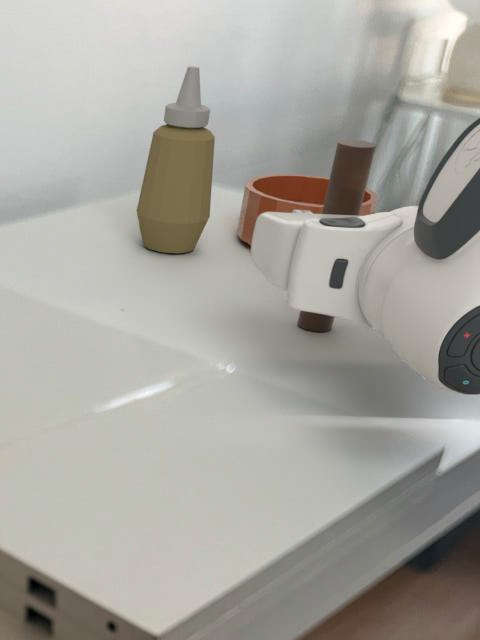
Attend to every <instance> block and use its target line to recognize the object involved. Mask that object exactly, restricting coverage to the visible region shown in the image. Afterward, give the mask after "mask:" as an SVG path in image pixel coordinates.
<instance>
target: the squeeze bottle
mask: <svg viewBox="0 0 480 640" xmlns="http://www.w3.org/2000/svg"><path fill="white" fill-rule="evenodd" d="M200 77H201V74H200V67H199V66H187V68H186V71H185V74H184V77H183V81H182V83H181V86H180V89H179V92H178V95H177V97H176V100H175V101H176V102H172V103H167V104H166V105H165V108H164V117H163V122H164V123H165V124H163V125H160V126H158V128H157V129H155V130H154V131H153V133H152V137H151V143H150V146H149V151H148V156H147V160H146V165H145V170H144V175H143V179H142V183H141V188H140V193H139V198H138V202H137V207H136V215H137V219H138V225H139V231H140V237H141V243H142V245H143V247H145V248H147V249H149V250H152V251H156V252H158V253H164V254H185V253H186V254H187V253H189V252H192V251H194V250H195V248H196V246H197V244H198V242H199V240H200V238H201V235H202V234H203V231H204V230H205V228H206V225H207V223H208V222H209V219H210V217H211V201H212V186H213V185H212V184H213V169H214V157H215V155H214V154H215V141H216V137H215V134H213V132H212V131H211V130H210V129H208V128H206V127H207V126H208V125H209V119H210V115H211V109H210V107H209V106H206V105H203V104H202V99H201V97H202V95H201V78H200Z"/></svg>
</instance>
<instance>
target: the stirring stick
mask: <svg viewBox="0 0 480 640" xmlns="http://www.w3.org/2000/svg"><path fill="white" fill-rule="evenodd" d="M335 148H336V149H335V152H334V157H333V162H332V165H331V171H330V174H329V178H330V179H329V184H328V188H327V193H326V197H325V202H324V206H323V211H322V214H333V215H358V216H359V214H360V210H361V206H362V202H363V197H364V193H365V189H366V188H367V184H368V181H369V176H370V172H371V169H372V164H373V160H374V157H375V156H374V155H375V152H376V151H375V150H376V148H377V145H376V144H375V143H373V142H371V141H366V140H362V139H361V140H360V139H340V140H337V144H336V147H335ZM297 319H298V320H297V326H298V327H299V328H301V329H302V330H305V331H310V332H315V333H324V332H329V331H331V330H332V329H333V324H334V321H335V317H331V316H326V315H321V314H315V313H310V312H306V311H300V310H299V314H298V318H297Z"/></svg>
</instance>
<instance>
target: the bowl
mask: <svg viewBox="0 0 480 640" xmlns="http://www.w3.org/2000/svg"><path fill="white" fill-rule="evenodd" d="M329 179H330V177H326V176H319V175H308V174H296V173H295V174H293V173H278V174H265V175H264V174H263V175H259V176H258V175H257V176H254V177H252V178H250V179H247V180H246V182H245V184H244V190H243V197H242V202H241V206H240V207H241V208H240V214H239V217H238V218H239V219H238V225H237V229H236V230H237V231H236V235H237V236H238V237H239V239H240V240H241V241H243V242H245V243H246V244H247V245H248V246H250V247H251V244H252V237H253V232H254V227H255V223H256V220H257V218H258V216H259V215H260V214H262V213H264V212H284V213H292V212H293V210H310V211H311V212H312V213H314V214H322V211H323V206H324V202H325V197H326V193H327V188H328V184H329ZM378 201H379V197H378V194H377V193H376V192H374V191H373V190H372V189H369V188H368V187H366V189H365V193H364V197H363V202H362V206H361V210H360V214H359V216H366V215H371V214H375V213H376V210H377V205H378Z"/></svg>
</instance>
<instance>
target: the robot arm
mask: <svg viewBox="0 0 480 640" xmlns="http://www.w3.org/2000/svg"><path fill="white" fill-rule="evenodd" d="M250 258H251V261H252V263H253V264H254V266H255V267H256V268H257V270H258V271H259V272H260V273H261V274H262V276H264V278H265V279H266V280H267V281H268V282H270V283H271V284H272V285H273V286H274V287H276V288H278V289H281V290H282V291H284V292H287V293H286V303H287V305H288V306H289V307H290V308H292V309H294V310H296V311H299V312H300V311H306V312H310V313H315V314H321V315H326V316H331V317H334V318H337V319H340V320H341V319H342V320H344V321H348V322H351V323H353V324H356V325H358V326H361V327H363V328H366V329H369V330H373V329H374V331H375V332H376V333H378V335H380V336H382V337H383V338H385V339H386V341H387V342H388V345H389V347H391V348H392V350H393V351H394V352H395V353H396V355H398V357H399V358H400V359H401V360H402V361H403V362H405V363H406V364H407V365H408V366H409V367H410V368H411V369H412V370H413V371H414V372H415V373H416V374H418V375H419V376H421V377H422V378H423V379H424V380H426V381H428V382H429V383H430V384H432V385H434V386H436V387H437V388H440V389H442V390H445V391H447V392H450V393H455V394H458V395H466V396H478V395H479V396H480V117H479V118H477V119H476V120H475V121H473V122H472V123H471V124H470V125H468V126H467V128H465V129H464V130H463V131H462V132H461V134H460V135H458V137H457V138H456V140H455V141H454V142H453V144H452V145H451V146H450V147H449V149H448V150H447V151H446V152H445V154H444V156H443V157H442V159H440V162H439V163H438V164H437V166H436V168H435V170H434V171H433V173H432V175H431V177H430V179H429V181H428V182H427V184H426V186H425V189H424V191H423V194H422V195H421V197H420V200H419V203H418V205H408V206H403V207H399V208H395V209H393V210H391V211H381V212H375V214H371V215H366V216H358V215H333V214H314V213H312V212H311V211H310V210H293V212H292V213H284V212H264V213H262V214H260V215H259V216H258V218H257V220H256V223H255V227H254V232H253V237H252V244H251V246H250Z"/></svg>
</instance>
